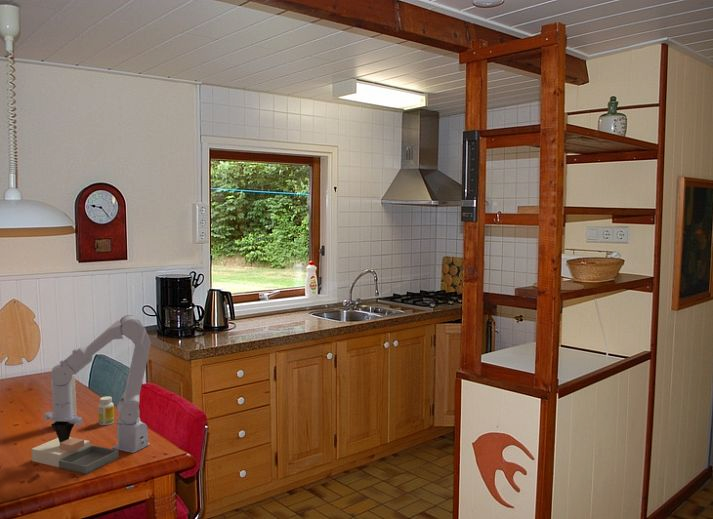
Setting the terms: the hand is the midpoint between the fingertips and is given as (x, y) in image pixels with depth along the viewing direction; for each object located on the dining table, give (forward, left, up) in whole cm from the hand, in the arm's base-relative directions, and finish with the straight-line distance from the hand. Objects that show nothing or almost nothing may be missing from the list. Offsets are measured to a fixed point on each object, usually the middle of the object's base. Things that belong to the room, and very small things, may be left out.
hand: (64, 443), depth 194 cm
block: (-3, 0, -1) cm, 4 cm away
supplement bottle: (+11, -29, -5) cm, 31 cm away
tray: (-11, 0, -5) cm, 12 cm away
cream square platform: (+1, 0, -5) cm, 5 cm away
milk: (+23, -21, -5) cm, 32 cm away
